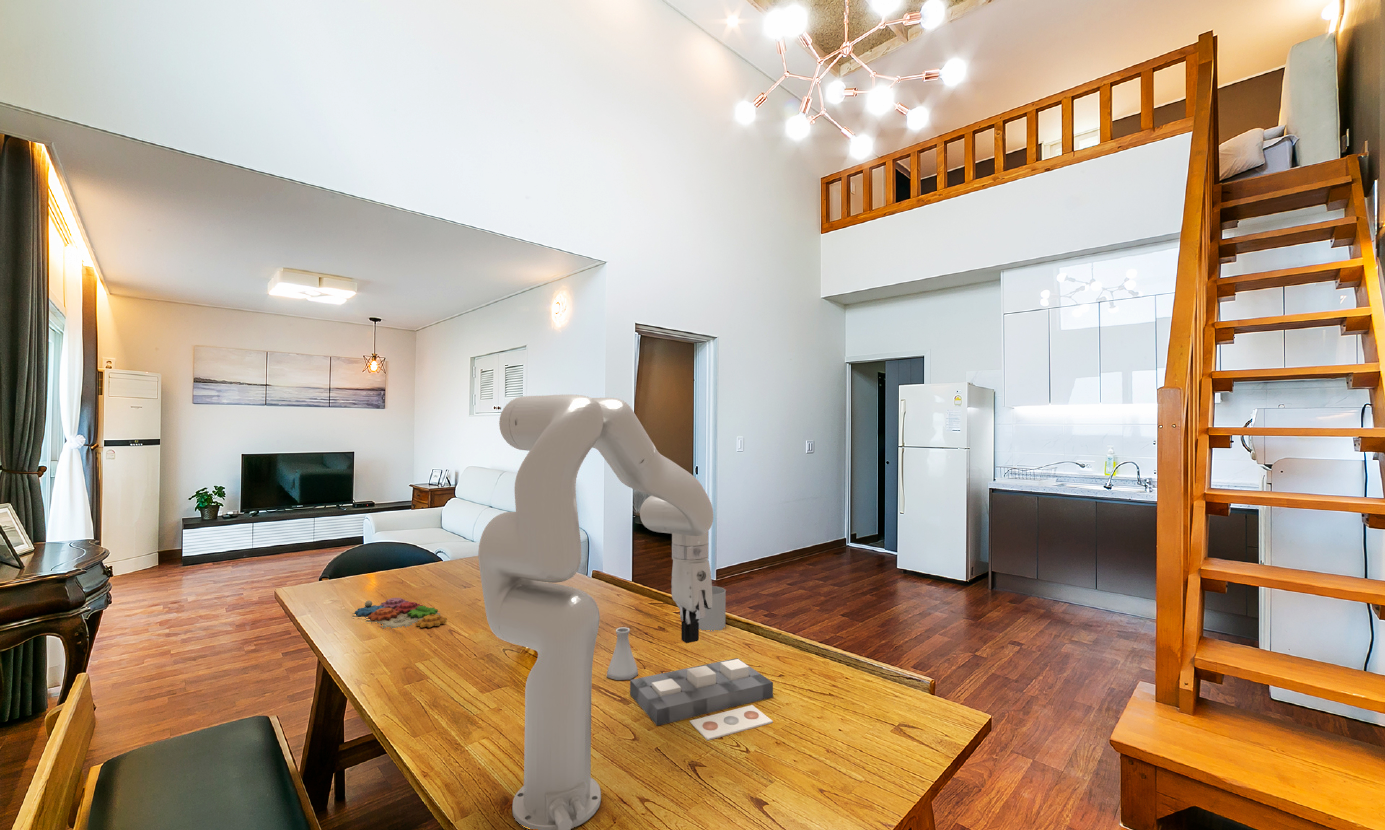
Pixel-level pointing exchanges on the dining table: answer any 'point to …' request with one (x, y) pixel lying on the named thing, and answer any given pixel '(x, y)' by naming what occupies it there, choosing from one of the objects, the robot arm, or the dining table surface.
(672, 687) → the button
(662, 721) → the button board
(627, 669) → the flask
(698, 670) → the button
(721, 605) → the cup
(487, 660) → the dining table surface
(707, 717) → the pattern card
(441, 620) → the gear puzzle
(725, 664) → the button
